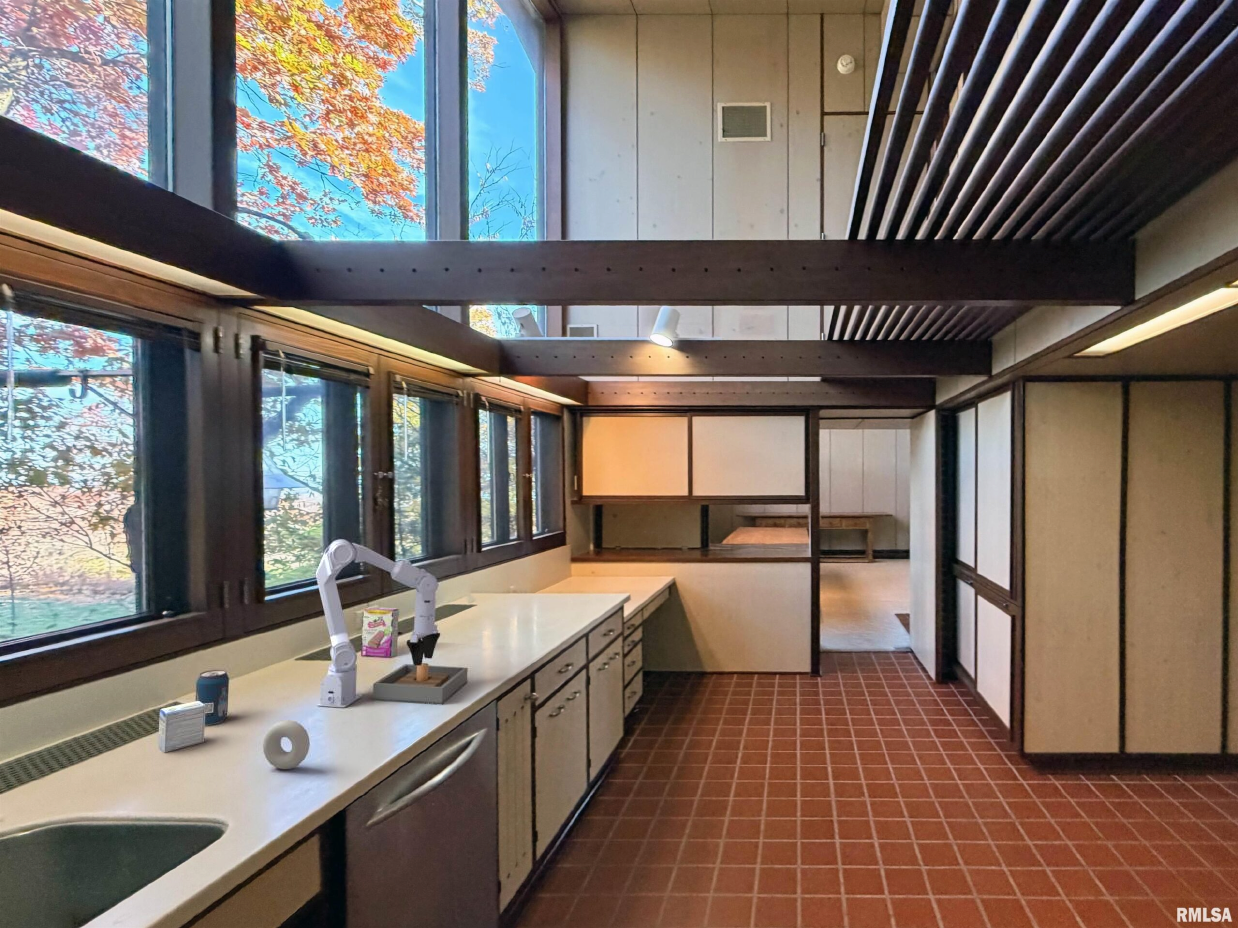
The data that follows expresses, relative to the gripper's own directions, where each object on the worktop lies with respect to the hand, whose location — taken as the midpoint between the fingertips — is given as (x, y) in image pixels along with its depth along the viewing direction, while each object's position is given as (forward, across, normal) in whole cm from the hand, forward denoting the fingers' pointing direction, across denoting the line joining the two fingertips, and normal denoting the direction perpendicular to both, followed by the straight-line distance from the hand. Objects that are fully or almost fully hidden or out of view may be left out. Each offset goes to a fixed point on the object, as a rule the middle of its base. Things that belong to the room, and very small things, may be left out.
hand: (422, 661), depth 187 cm
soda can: (+9, -32, +41) cm, 53 cm away
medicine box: (+9, -46, +37) cm, 60 cm away
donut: (+9, -53, +7) cm, 54 cm away
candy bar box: (+9, +33, +30) cm, 45 cm away
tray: (+8, 0, 0) cm, 9 cm away
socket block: (+8, 0, 0) cm, 9 cm away
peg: (+8, 0, 0) cm, 8 cm away
